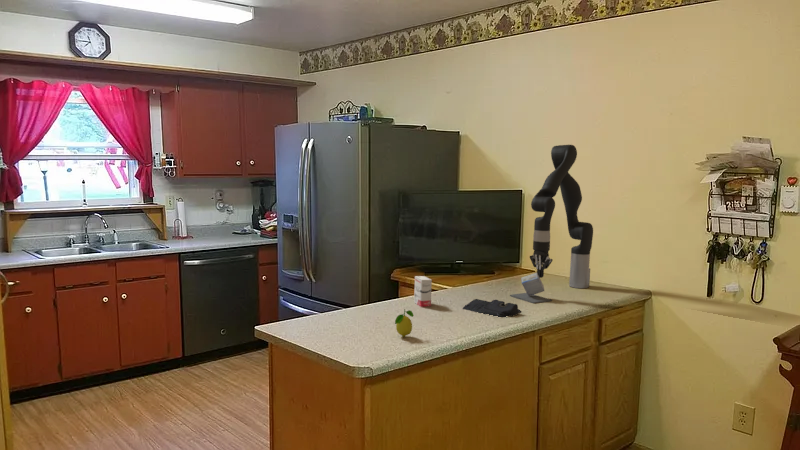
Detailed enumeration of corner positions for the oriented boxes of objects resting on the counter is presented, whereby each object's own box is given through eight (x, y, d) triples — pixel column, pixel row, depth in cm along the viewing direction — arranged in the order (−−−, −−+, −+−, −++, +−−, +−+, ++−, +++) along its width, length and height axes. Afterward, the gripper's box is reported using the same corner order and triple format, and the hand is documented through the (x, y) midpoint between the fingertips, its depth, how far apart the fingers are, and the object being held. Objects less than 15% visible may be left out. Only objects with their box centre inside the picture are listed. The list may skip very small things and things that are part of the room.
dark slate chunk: (480, 303, 255) (480, 293, 254) (524, 313, 240) (524, 302, 239) (459, 309, 243) (460, 298, 243) (504, 320, 229) (504, 308, 228)
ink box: (431, 306, 246) (432, 279, 244) (420, 307, 244) (421, 279, 243) (423, 301, 254) (424, 275, 252) (413, 302, 252) (414, 276, 251)
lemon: (413, 334, 204) (413, 306, 203) (414, 339, 199) (414, 311, 198) (394, 334, 204) (395, 306, 203) (394, 339, 198) (395, 310, 197)
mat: (527, 293, 275) (527, 292, 275) (551, 301, 261) (551, 299, 261) (509, 295, 269) (509, 294, 269) (533, 303, 256) (533, 302, 256)
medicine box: (543, 285, 268) (537, 271, 264) (544, 291, 264) (538, 277, 260) (527, 290, 270) (520, 277, 266) (528, 296, 266) (521, 283, 263)
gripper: (558, 241, 260) (556, 279, 262) (537, 238, 272) (535, 274, 273) (546, 242, 257) (544, 280, 258) (525, 238, 268) (524, 275, 270)
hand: (540, 277), depth 266 cm, fingers closed
